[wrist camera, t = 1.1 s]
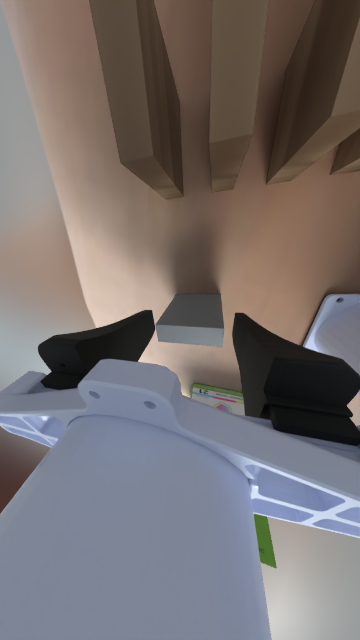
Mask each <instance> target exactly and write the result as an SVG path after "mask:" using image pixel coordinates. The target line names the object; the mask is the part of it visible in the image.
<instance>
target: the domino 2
mask: <svg viewBox="0 0 360 640" xmlns="http://www.w3.org/2000/svg"><path fill="white" fill-rule="evenodd" d="M156 330H157V336H158V341H159V342H171V343H183V344H194V345H206V346H218V347H222V344H223V335H224V322H223V312H222V302H221V294H176V296H175V297H174V299H173V300H172V302H171V303H170V304H169V306H168V307H167V309H166V310H165V312H164V313H163V315H162V316H161V317H160V319H159V320H158V322H157V323H156Z"/></svg>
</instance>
